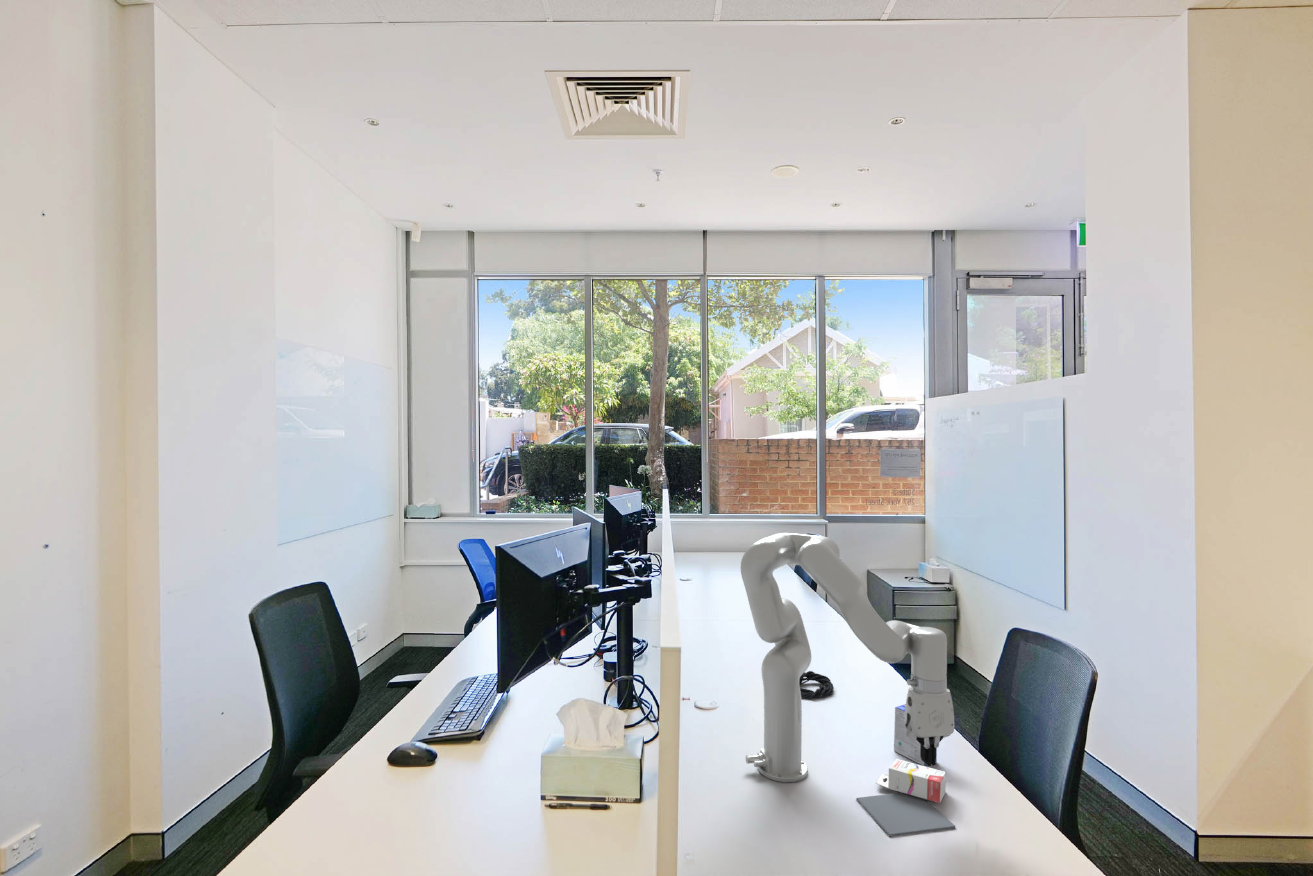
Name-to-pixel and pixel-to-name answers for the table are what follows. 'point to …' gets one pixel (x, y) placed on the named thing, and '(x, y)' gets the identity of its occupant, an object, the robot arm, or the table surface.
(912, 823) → the rubber mat
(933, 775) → the ink cartridge box
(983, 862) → the table surface
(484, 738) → the table surface
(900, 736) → the ink cartridge box
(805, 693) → the cable
